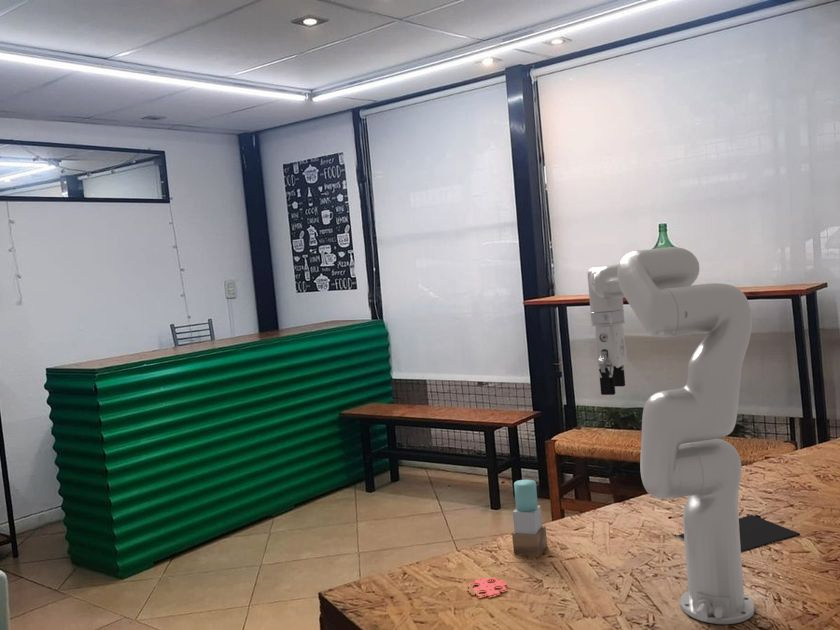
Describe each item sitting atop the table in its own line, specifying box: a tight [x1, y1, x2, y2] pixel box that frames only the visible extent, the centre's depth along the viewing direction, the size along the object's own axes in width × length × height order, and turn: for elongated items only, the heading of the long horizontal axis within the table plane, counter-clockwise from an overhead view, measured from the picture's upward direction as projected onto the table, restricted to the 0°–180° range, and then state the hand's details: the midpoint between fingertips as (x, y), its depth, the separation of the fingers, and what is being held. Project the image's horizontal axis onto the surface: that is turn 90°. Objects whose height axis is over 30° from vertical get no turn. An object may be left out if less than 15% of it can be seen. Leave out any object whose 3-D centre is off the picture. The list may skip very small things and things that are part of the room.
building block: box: [468, 576, 508, 598], centre depth 150 cm, size 1×8×8 cm
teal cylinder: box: [513, 479, 539, 512], centre depth 166 cm, size 5×5×6 cm
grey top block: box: [512, 505, 543, 535], centre depth 167 cm, size 5×5×5 cm
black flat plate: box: [674, 514, 801, 553], centre depth 164 cm, size 23×1×15 cm
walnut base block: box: [511, 525, 548, 558], centre depth 167 cm, size 6×6×5 cm
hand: (613, 390), depth 170 cm, fingers open, 9 cm apart
